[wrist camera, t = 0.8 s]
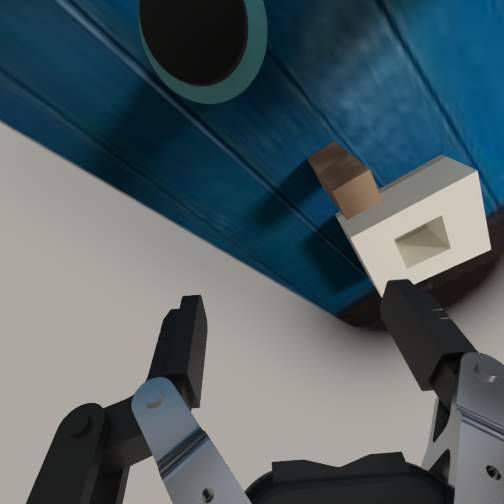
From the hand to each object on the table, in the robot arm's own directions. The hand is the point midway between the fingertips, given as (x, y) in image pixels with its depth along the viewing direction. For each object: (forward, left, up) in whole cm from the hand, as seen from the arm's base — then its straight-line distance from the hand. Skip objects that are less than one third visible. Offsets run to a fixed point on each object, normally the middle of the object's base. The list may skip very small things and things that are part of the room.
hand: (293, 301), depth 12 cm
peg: (-6, +6, -24) cm, 26 cm away
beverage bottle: (-2, -10, -24) cm, 26 cm away
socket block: (-11, +19, -24) cm, 33 cm away
